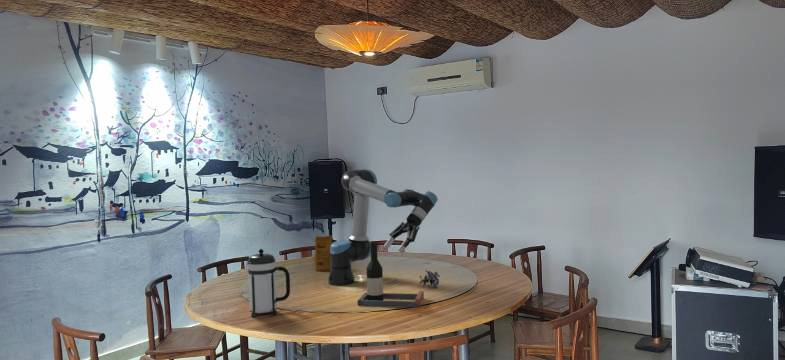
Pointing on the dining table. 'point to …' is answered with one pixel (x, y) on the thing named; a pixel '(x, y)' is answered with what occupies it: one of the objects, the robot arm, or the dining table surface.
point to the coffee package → (322, 253)
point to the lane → (416, 303)
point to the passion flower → (431, 279)
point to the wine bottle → (374, 276)
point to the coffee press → (264, 283)
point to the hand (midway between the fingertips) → (392, 249)
